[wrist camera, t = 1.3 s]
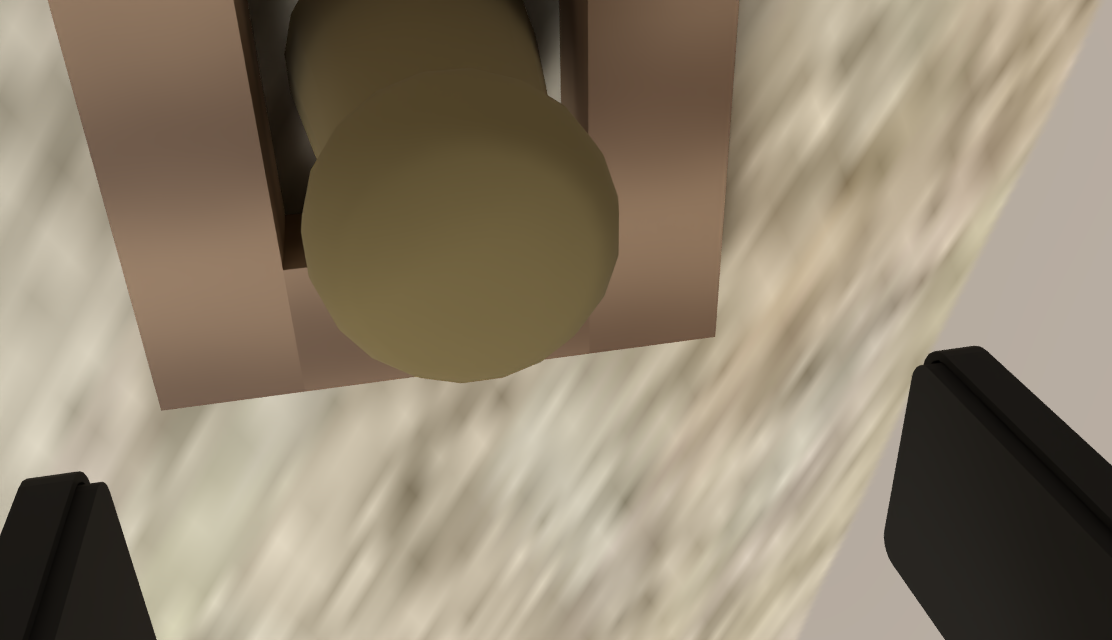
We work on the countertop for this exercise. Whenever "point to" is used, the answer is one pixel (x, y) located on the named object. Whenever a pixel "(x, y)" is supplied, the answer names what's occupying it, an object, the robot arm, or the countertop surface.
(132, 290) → the socket block
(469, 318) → the cork
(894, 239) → the countertop surface
